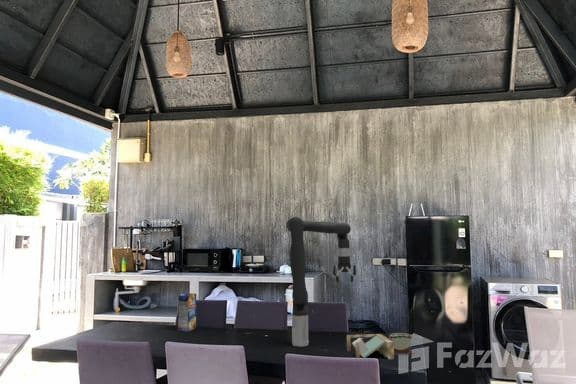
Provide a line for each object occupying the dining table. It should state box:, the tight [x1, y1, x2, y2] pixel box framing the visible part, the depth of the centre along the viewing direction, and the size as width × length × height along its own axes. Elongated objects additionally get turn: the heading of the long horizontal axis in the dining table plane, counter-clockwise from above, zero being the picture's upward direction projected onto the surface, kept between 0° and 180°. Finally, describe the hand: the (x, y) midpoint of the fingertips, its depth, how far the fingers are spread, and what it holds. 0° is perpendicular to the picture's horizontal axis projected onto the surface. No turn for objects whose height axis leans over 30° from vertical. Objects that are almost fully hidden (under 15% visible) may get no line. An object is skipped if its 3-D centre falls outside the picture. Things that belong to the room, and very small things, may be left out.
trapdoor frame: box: [346, 333, 395, 360], centre depth 229 cm, size 20×20×8 cm
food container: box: [388, 332, 413, 355], centre depth 233 cm, size 12×6×10 cm, turn 92°
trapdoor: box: [360, 336, 386, 359], centre depth 229 cm, size 14×14×1 cm
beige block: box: [351, 337, 368, 356], centre depth 229 cm, size 5×5×6 cm
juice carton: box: [177, 292, 197, 333], centre depth 299 cm, size 12×8×24 cm, turn 165°
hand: (344, 282), depth 263 cm, fingers open, 8 cm apart
